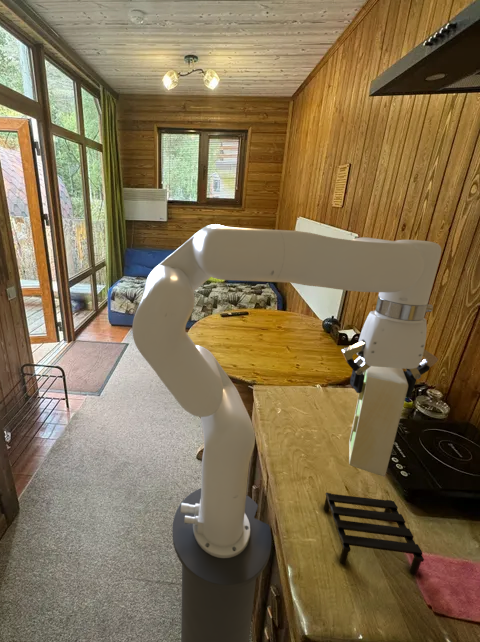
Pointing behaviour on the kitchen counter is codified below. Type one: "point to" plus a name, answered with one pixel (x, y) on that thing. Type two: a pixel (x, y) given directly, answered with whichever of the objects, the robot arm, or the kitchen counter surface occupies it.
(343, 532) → the rack
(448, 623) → the kitchen counter surface
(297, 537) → the kitchen counter surface
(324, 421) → the kitchen counter surface
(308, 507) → the kitchen counter surface
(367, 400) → the toy refrigerator
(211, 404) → the robot arm
